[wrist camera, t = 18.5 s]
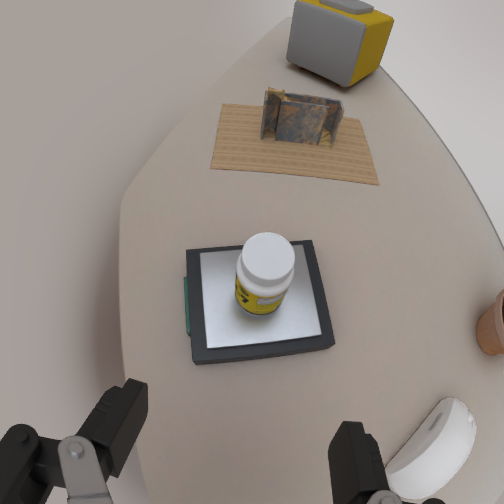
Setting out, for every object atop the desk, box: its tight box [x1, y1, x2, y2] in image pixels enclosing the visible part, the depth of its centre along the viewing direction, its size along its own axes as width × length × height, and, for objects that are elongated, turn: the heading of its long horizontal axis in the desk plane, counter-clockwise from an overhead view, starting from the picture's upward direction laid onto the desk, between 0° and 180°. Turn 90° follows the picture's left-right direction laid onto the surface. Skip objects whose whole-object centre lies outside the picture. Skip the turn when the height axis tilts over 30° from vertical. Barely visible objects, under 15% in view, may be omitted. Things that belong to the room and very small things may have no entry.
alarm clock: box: [286, 0, 394, 88], centre depth 52 cm, size 20×16×18 cm
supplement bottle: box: [235, 232, 295, 316], centre depth 27 cm, size 5×5×8 cm
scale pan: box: [200, 245, 322, 350], centre depth 31 cm, size 11×10×1 cm
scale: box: [184, 240, 335, 365], centre depth 32 cm, size 14×12×2 cm
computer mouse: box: [385, 398, 477, 499], centre depth 23 cm, size 6×13×6 cm, turn 130°
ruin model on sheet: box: [211, 87, 380, 186], centre depth 42 cm, size 25×16×10 cm, turn 88°
